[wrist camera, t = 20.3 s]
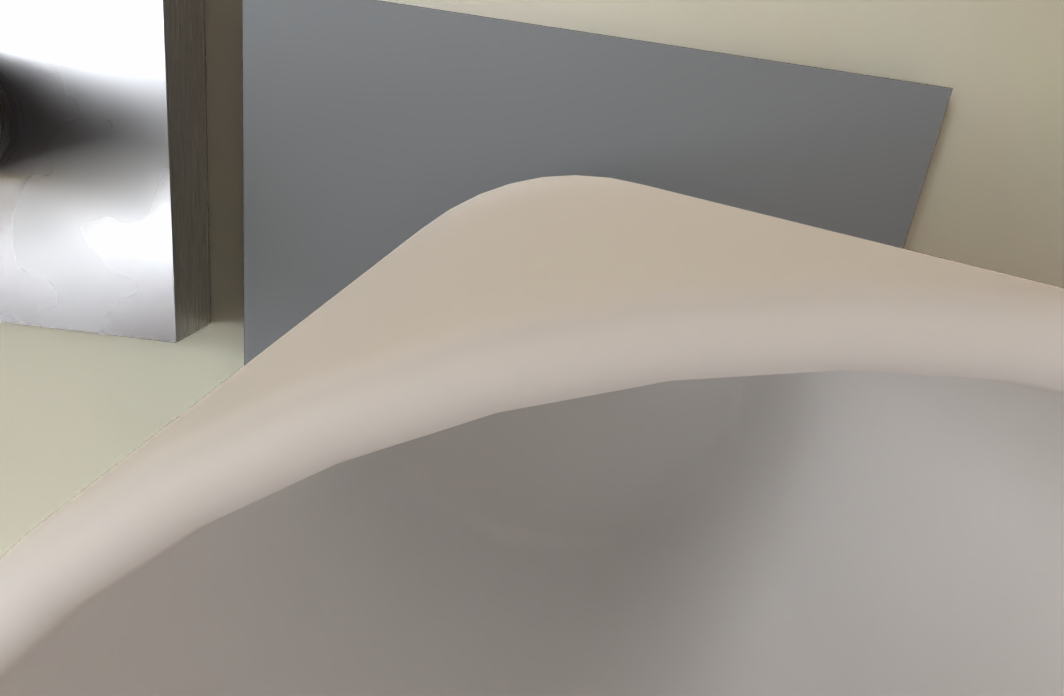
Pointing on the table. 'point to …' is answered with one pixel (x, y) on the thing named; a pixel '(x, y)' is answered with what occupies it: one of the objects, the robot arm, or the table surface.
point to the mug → (588, 478)
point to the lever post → (104, 167)
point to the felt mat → (534, 135)
